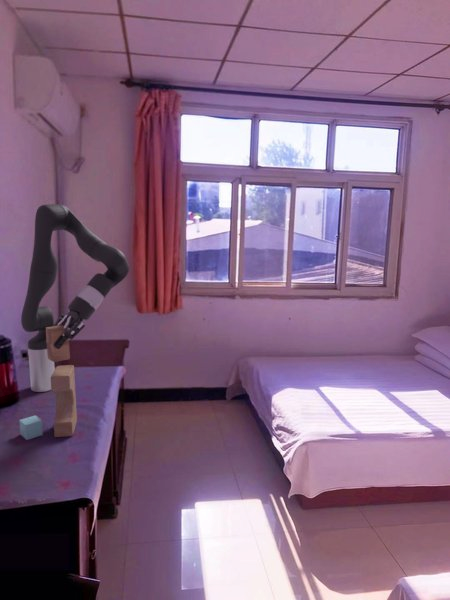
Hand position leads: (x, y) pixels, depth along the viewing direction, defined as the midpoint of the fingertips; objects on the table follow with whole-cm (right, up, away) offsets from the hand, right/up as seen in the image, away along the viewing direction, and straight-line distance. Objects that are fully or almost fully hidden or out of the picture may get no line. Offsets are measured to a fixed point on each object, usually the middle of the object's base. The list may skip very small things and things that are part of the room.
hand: (52, 345), depth 137 cm
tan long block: (+1, -4, +2) cm, 5 cm away
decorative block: (+2, -28, +7) cm, 29 cm away
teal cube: (-8, -29, +3) cm, 30 cm away
